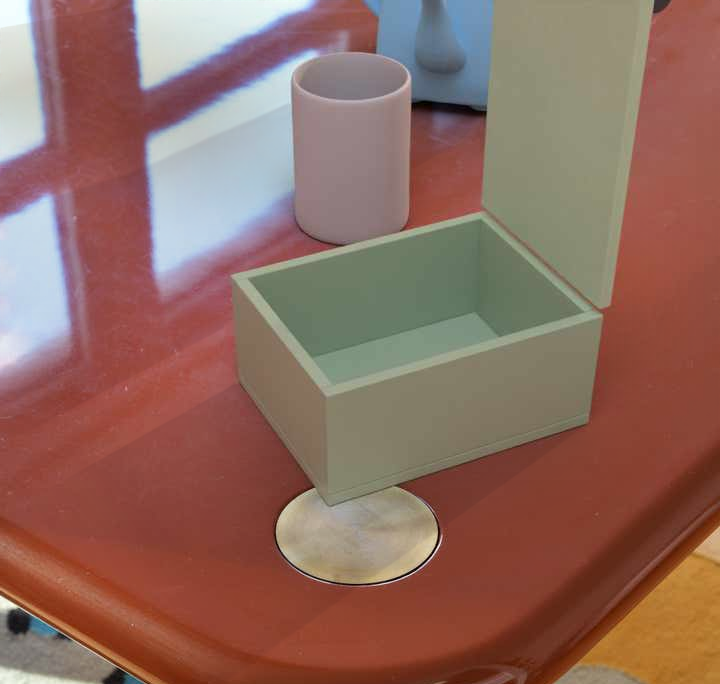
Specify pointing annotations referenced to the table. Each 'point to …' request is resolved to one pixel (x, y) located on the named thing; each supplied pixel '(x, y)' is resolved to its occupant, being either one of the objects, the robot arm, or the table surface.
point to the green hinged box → (413, 353)
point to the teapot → (439, 46)
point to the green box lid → (565, 129)
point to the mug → (351, 146)
